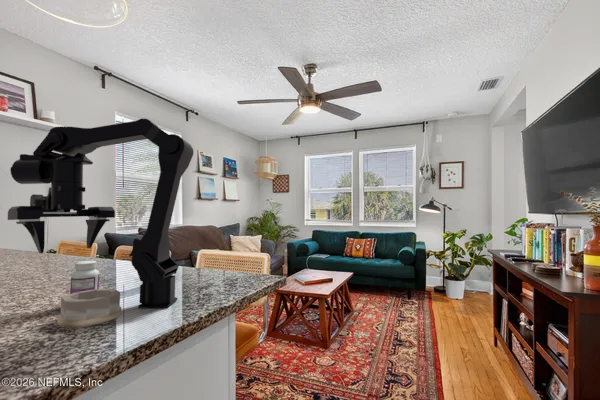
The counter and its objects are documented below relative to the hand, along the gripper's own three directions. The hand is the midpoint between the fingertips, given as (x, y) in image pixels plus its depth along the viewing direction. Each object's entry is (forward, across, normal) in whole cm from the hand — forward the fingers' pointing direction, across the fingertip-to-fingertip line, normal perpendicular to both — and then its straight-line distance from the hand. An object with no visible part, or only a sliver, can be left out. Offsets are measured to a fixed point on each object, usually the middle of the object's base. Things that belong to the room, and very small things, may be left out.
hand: (66, 250), depth 66 cm
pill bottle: (+13, -2, +3) cm, 13 cm away
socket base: (+13, +1, +14) cm, 19 cm away
